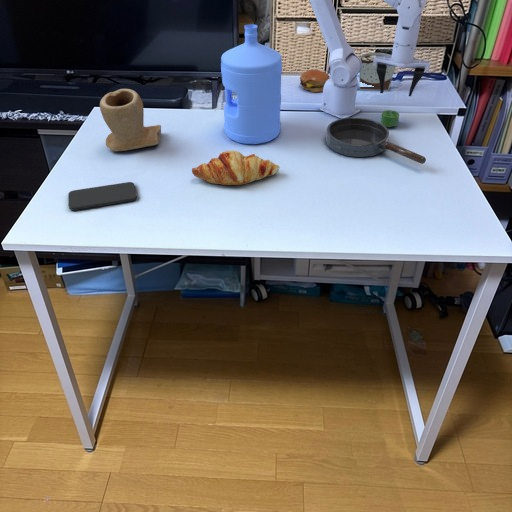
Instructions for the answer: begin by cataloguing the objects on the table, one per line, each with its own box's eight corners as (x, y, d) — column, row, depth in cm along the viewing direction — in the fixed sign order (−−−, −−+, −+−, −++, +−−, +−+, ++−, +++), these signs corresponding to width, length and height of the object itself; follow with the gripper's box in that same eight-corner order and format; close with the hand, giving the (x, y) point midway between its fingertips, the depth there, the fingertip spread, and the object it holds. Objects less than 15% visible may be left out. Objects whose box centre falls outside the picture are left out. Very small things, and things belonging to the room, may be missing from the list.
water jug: (283, 121, 143) (287, 18, 125) (275, 147, 131) (278, 38, 113) (231, 117, 145) (226, 15, 127) (218, 143, 134) (212, 34, 115)
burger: (326, 80, 166) (327, 66, 163) (332, 92, 159) (333, 77, 156) (297, 82, 165) (297, 68, 162) (301, 93, 158) (302, 79, 155)
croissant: (276, 179, 126) (275, 147, 124) (284, 182, 116) (282, 148, 114) (193, 185, 123) (190, 152, 122) (193, 188, 114) (190, 153, 112)
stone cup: (107, 160, 127) (94, 104, 117) (106, 138, 136) (94, 85, 126) (166, 152, 130) (158, 98, 120) (161, 132, 139) (154, 79, 129)
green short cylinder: (376, 125, 141) (378, 112, 138) (386, 120, 143) (388, 107, 141) (390, 131, 138) (392, 118, 135) (400, 125, 140) (403, 113, 138)
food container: (391, 83, 163) (396, 52, 157) (393, 91, 159) (398, 59, 152) (353, 82, 164) (357, 51, 158) (354, 89, 160) (358, 58, 153)
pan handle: (379, 148, 127) (380, 141, 126) (384, 145, 128) (385, 138, 127) (421, 166, 120) (423, 159, 119) (426, 163, 121) (428, 156, 120)
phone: (137, 197, 113) (68, 208, 110) (137, 200, 113) (69, 211, 110) (133, 181, 118) (68, 190, 115) (134, 184, 119) (69, 193, 115)
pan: (313, 142, 134) (314, 130, 131) (351, 123, 142) (353, 112, 140) (361, 164, 125) (363, 152, 122) (399, 143, 133) (401, 131, 131)
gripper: (375, 45, 127) (367, 96, 136) (433, 50, 124) (422, 102, 132) (378, 36, 132) (370, 86, 141) (434, 41, 129) (423, 92, 138)
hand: (395, 93), depth 137 cm, fingers open, 7 cm apart
